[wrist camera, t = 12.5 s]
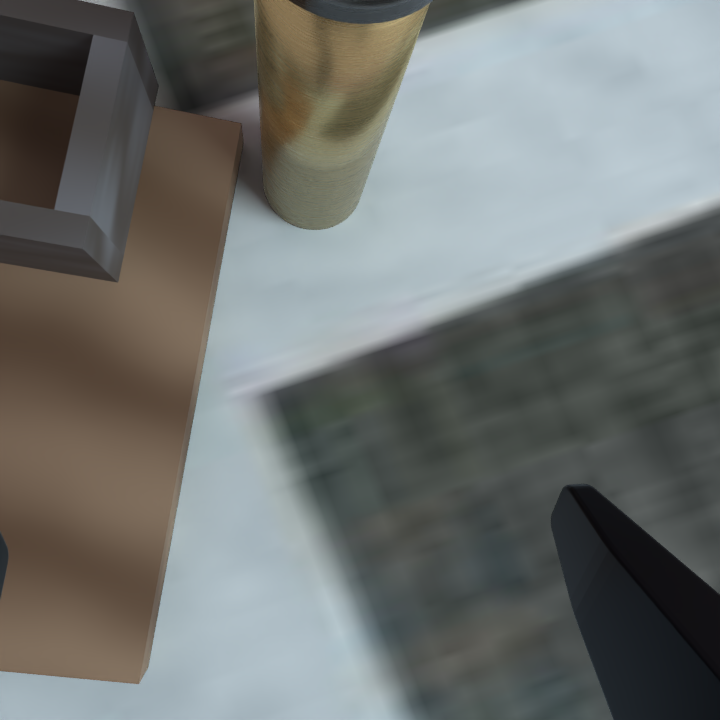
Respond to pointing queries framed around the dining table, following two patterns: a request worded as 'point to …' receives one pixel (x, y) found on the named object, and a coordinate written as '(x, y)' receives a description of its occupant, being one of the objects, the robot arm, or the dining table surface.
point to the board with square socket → (97, 330)
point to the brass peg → (327, 98)
